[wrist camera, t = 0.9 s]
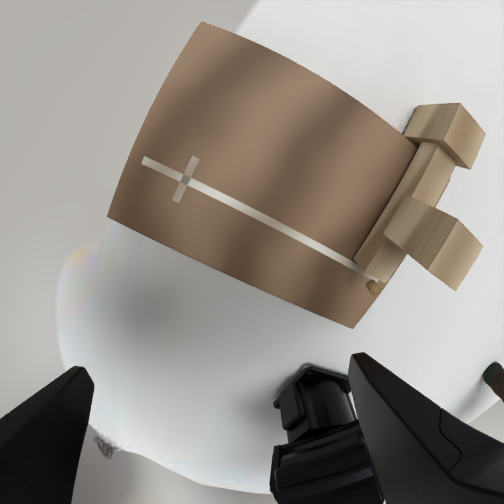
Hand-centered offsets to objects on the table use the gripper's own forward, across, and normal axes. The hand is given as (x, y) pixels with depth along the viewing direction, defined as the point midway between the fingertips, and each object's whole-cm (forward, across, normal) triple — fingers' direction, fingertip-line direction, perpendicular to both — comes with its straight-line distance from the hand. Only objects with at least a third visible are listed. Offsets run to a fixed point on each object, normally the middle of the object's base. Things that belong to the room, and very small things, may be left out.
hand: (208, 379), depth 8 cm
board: (+13, -4, -4) cm, 14 cm away
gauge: (+11, -9, +2) cm, 14 cm away
